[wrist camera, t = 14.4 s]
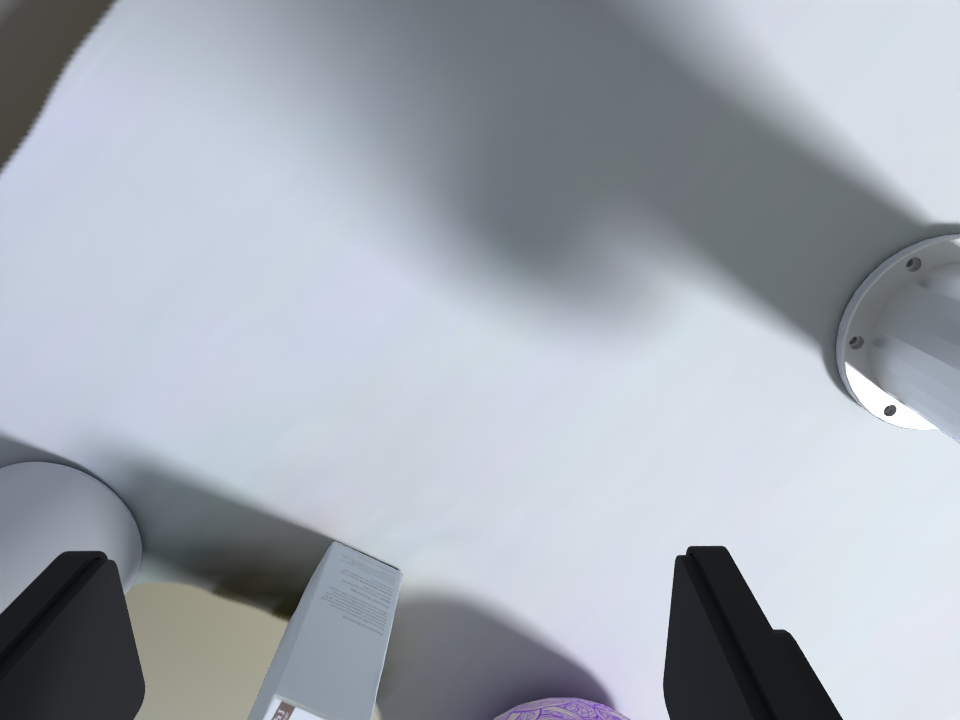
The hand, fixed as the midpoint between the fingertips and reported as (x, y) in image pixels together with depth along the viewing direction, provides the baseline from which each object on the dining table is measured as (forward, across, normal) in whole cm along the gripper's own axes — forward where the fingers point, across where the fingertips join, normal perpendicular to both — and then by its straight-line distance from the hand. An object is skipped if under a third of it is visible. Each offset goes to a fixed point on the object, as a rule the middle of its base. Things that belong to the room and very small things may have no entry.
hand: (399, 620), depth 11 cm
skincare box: (+32, +9, +25) cm, 42 cm away
